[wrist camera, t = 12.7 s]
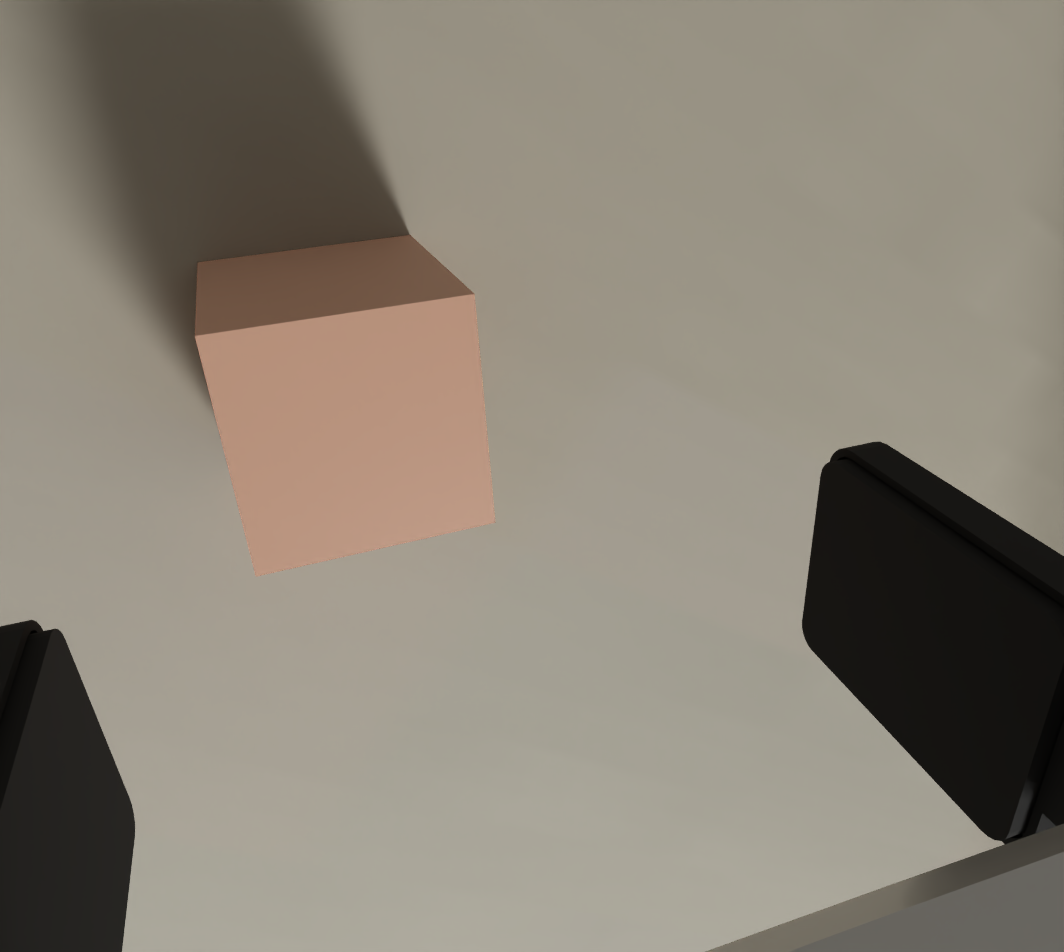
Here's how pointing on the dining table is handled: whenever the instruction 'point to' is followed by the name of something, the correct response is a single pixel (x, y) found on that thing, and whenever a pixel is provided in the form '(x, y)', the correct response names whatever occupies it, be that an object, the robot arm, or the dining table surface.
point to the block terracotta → (345, 398)
